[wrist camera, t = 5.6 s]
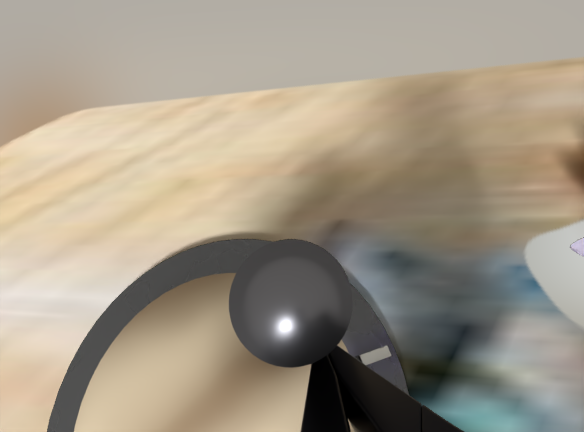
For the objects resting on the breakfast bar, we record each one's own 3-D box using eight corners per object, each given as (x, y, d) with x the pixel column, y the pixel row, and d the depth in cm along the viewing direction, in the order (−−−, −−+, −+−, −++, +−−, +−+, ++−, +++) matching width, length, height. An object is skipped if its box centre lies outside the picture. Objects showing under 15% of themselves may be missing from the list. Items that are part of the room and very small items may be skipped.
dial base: (487, 575, 13) (500, 591, 13) (38, 789, 11) (15, 828, 10) (331, 209, 22) (332, 204, 21) (60, 292, 20) (48, 290, 19)
